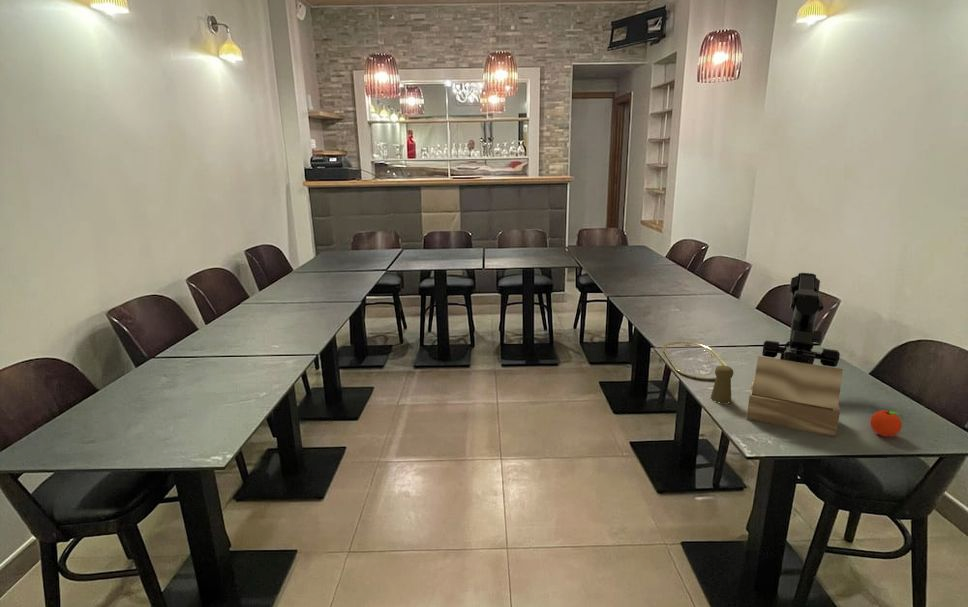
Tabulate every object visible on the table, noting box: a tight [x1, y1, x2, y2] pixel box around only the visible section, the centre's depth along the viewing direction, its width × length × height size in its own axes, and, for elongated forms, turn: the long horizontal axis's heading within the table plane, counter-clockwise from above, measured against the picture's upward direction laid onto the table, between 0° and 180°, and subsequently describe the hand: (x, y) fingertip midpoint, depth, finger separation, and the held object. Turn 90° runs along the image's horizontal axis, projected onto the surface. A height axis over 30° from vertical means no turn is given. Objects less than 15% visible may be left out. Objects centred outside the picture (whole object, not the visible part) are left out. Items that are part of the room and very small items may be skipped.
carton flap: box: [753, 355, 844, 410], centre depth 149 cm, size 11×21×1 cm
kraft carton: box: [746, 379, 841, 438], centre depth 155 cm, size 12×22×8 cm, turn 61°
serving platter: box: [662, 341, 727, 381], centre depth 198 cm, size 19×35×2 cm, turn 176°
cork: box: [710, 365, 734, 404], centre depth 167 cm, size 6×6×11 cm
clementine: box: [869, 409, 904, 437], centre depth 146 cm, size 8×7×7 cm
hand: (796, 380), depth 150 cm, fingers closed, pressing on carton flap
